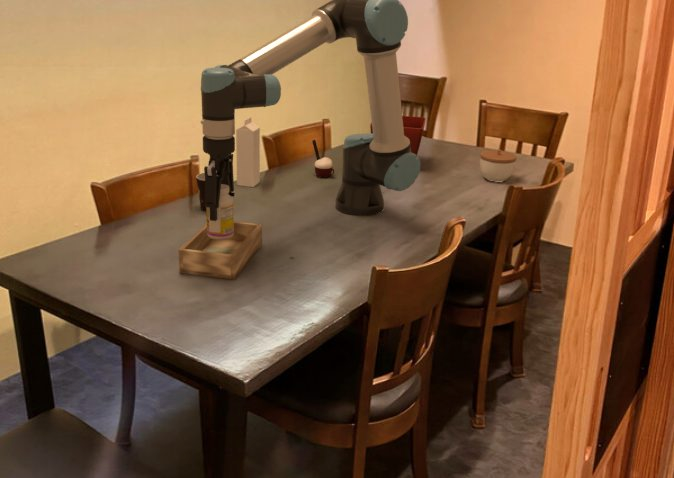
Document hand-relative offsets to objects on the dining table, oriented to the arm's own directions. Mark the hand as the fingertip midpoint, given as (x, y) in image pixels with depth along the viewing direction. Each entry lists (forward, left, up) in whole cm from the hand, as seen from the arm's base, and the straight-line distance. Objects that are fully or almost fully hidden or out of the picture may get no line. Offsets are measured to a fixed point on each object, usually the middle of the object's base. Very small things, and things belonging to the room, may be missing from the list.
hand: (220, 226), depth 174 cm
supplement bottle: (0, 0, -3) cm, 3 cm away
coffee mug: (+16, -37, -9) cm, 41 cm away
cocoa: (-9, -79, -9) cm, 80 cm away
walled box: (0, -1, -9) cm, 9 cm away
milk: (+13, -62, -9) cm, 64 cm away
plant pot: (-32, -102, -9) cm, 107 cm away
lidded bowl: (-69, -95, -9) cm, 118 cm away
